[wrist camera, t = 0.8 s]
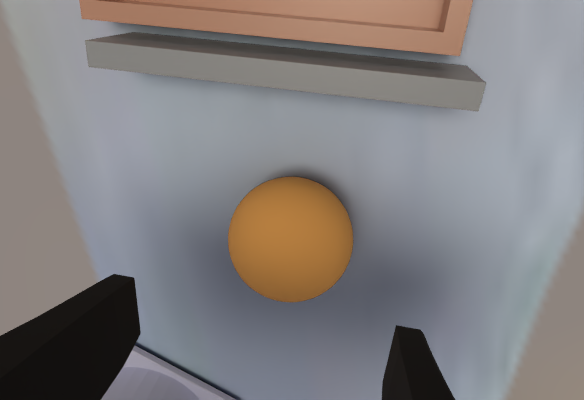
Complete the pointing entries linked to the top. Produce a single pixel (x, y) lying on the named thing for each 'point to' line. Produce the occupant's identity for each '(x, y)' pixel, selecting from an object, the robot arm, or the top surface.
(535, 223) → the top surface
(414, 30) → the tray
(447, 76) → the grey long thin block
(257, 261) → the ball
